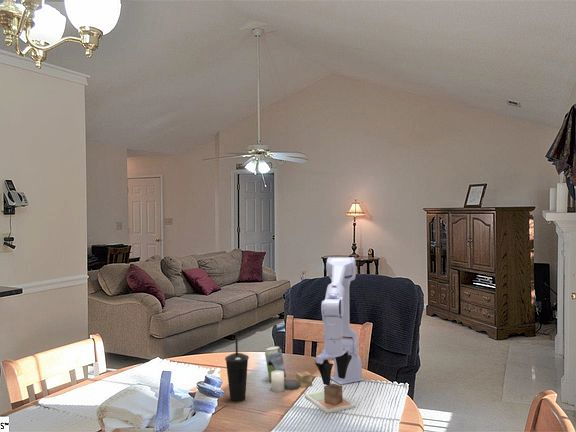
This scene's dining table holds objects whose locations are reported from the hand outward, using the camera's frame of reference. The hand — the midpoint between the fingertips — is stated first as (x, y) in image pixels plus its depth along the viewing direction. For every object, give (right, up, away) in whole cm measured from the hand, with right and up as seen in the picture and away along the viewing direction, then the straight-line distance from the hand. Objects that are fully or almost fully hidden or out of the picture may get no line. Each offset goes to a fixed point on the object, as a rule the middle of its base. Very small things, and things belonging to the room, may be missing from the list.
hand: (334, 381), depth 157 cm
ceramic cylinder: (-18, -8, +15) cm, 25 cm away
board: (-1, -8, +3) cm, 8 cm away
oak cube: (-9, -8, +20) cm, 23 cm away
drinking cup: (-31, -9, +7) cm, 33 cm away
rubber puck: (-13, -8, +17) cm, 23 cm away
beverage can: (-19, -8, +25) cm, 32 cm away
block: (0, -7, 0) cm, 7 cm away
